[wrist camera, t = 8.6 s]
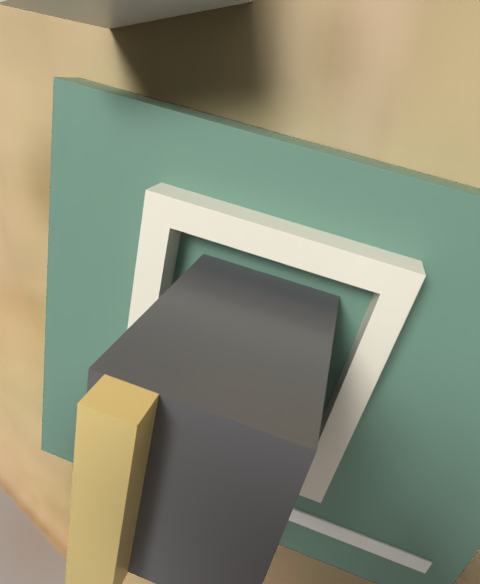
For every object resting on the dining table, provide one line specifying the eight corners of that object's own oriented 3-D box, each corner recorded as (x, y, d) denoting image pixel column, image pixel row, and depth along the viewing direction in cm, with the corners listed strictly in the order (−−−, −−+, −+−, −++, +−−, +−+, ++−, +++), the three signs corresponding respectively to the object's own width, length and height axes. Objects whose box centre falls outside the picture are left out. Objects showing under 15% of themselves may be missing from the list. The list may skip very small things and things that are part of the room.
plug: (339, 296, 12) (311, 490, 6) (291, 429, 15) (236, 665, 9) (203, 253, 13) (60, 396, 7) (176, 388, 15) (51, 583, 9)
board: (668, 241, 11) (731, 273, 9) (431, 575, 17) (439, 636, 15) (79, 77, 13) (29, 76, 11) (59, 429, 19) (24, 467, 18)
